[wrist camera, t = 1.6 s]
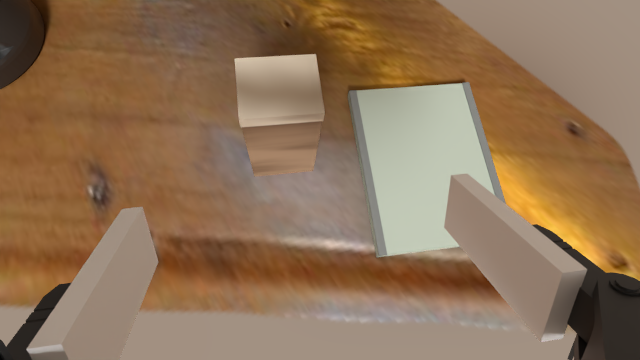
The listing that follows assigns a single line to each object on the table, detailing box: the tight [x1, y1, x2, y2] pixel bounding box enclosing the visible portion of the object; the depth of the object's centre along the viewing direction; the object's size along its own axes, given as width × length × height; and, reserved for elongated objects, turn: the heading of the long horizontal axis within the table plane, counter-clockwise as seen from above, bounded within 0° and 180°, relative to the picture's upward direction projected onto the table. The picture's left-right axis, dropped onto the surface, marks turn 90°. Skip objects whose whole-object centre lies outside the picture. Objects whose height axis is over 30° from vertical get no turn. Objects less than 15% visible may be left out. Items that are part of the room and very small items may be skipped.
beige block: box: [235, 54, 325, 176], centre depth 32 cm, size 5×6×12 cm
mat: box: [348, 82, 506, 257], centre depth 38 cm, size 18×14×1 cm
